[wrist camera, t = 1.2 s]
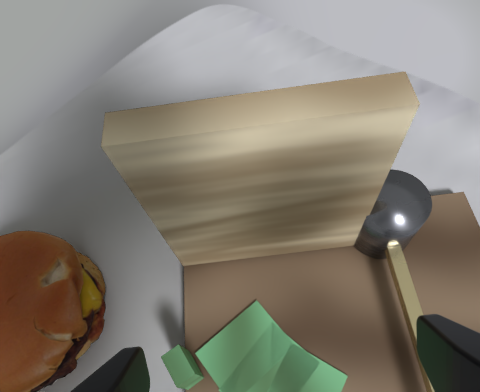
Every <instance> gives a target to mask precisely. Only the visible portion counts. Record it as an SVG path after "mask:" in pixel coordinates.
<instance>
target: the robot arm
mask: <svg viewBox="0 0 480 392" xmlns="http://www.w3.org/2000/svg"><path fill="white" fill-rule="evenodd" d="M416 333H417V353H418V356H419V359H420V361H421V364H422V366H423V368H424V370H425V372H426V374H427V376H428V379H429V381H430V383H431V385H432V387H433V389H434V391H435V392H480V333H479V332H476V331H474V330H472V329H470V328H468V327H465V326H463V325H461V324H459V323H456V322H454V321H452V320H450V319H448V318H445V317H443V316H441V315H439V314H429V315H420V316H419V317H418V318H417V321H416ZM149 389H150V377H149V372H148V368H147V364H146V359H145V355H144V351H143V349H142V348H141V347H131V348H124V349H122V350H121V351H120V352H118V353H117V354H116V355H115V356H113V357H112V358H111V359H110V360H109V361H107V362H106V363H105V364H104V365H102V366H101V367H100V368H99V369H98V370H96V371H95V372H94V373H93V374H92V375H90V376H89V377H88V378H87V379H85V380H84V381H83V382H82V383H81V384H79V385H78V386H77V387H76V388H74V389H73V390H72V391H71V392H149Z"/></svg>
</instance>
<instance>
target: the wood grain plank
mask: <svg viewBox="0 0 480 392" xmlns="http://www.w3.org/2000/svg"><path fill="white" fill-rule="evenodd" d="M419 105H420V103H419V101H418V99H417V96H416V94H415V92H414V90H413V87H412V85H411V83H410V81H409V78H408V76H407V74H406V72H398V73H391V74H384V75H377V76H369V77H362V78H355V79H347V80H340V81H333V82H326V83H318V84H311V85H304V86H296V87H289V88H282V89H275V90H267V91H260V92H253V93H245V94H238V95H231V96H224V97H216V98H209V99H202V100H194V101H187V102H180V103H173V104H165V105H158V106H151V107H143V108H136V109H129V110H122V111H114V112H107V113H105V117H104V126H103V134H102V142H101V147H102V149H103V150H104V152H105V153H106V155H107V156H108V158H109V159H110V160H111V162H112V163H113V165H114V166H115V168H116V169H117V171H118V172H119V174H120V175H121V176H122V178H123V179H124V181H125V182H126V184H127V185H128V187H129V188H130V190H131V191H132V192H133V194H134V195H135V197H136V198H137V200H138V201H139V203H140V204H141V206H142V207H143V208H144V210H145V211H146V213H147V214H148V216H149V217H150V219H151V220H152V222H153V223H154V224H155V226H156V227H157V229H158V230H159V232H160V233H161V235H162V236H163V238H164V239H165V240H166V242H167V243H168V245H169V246H170V248H171V249H172V251H173V252H174V254H175V255H176V256H177V258H178V259H179V261H180V262H181V264H182V265H183V266H187V265H196V264H204V263H212V262H221V261H229V260H237V259H246V258H254V257H262V256H271V255H279V254H287V253H296V252H304V251H312V250H321V249H329V248H337V247H346V246H354V247H355V248H356V249H357V250H358V251H360V252H361V253H363V254H364V255H366V256H369V257H372V258H376V259H387V262H388V265H389V268H390V272H391V275H392V278H393V282H394V285H395V288H396V291H397V295H398V298H399V301H400V305H401V308H402V311H403V315H404V318H405V321H406V325H407V328H408V331H409V334H410V338H411V341H412V344H413V348H414V351H415V354H416V358H417V361H418V364H419V368H420V371H421V374H422V377H423V381H424V384H425V387H426V391H427V392H435V391H434V389H433V387H432V385H431V383H430V381H429V379H428V376H427V374H426V372H425V370H424V368H423V366H422V364H421V361H420V359H419V356H418V353H417V333H416V321H417V318H418V317H419V316H420V315H423V312H422V309H421V306H420V303H419V300H418V297H417V294H416V291H415V288H414V285H413V282H412V279H411V276H410V273H409V270H408V266H407V263H406V260H405V257H404V254H403V250H404V249H405V247H406V246H407V245H408V244H409V242H410V241H411V240H412V238H413V237H414V236H415V234H416V233H417V232H418V231H419V229H420V228H421V227H422V225H423V224H424V223H425V221H426V220H427V219H428V217H429V216H430V213H431V210H432V199H431V195H430V193H429V191H428V189H427V188H426V186H425V185H424V184H423V183H422V182H421V181H420V180H419V179H417V178H416V177H414V176H413V175H411V174H408V173H406V172H403V171H399V170H390V169H391V167H392V164H393V162H394V160H395V158H396V156H397V153H398V151H399V149H400V147H401V145H402V142H403V140H404V138H405V136H406V133H407V131H408V129H409V127H410V125H411V122H412V120H413V118H414V116H415V114H416V111H417V109H418V107H419Z"/></svg>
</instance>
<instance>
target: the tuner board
mask: <svg viewBox="0 0 480 392" xmlns="http://www.w3.org/2000/svg"><path fill="white" fill-rule="evenodd" d="M431 199H432V210H431V213H430V216H429V217H428V219H427V220H426V221H425V223H424V224H423V225H422V227H421V228H420V229H419V231H418V232H417V233H416V234H415V236H414V237H413V238H412V240H411V241H410V242H409V244H408V245H407V246H406V247H405V249H404V250H403V254H404V257H405V260H406V263H407V266H408V270H409V273H410V276H411V279H412V282H413V285H414V288H415V291H416V294H417V297H418V300H419V303H420V306H421V309H422V312H423V315H429V314H439V315H441V316H443V317H445V318H448V319H450V320H452V321H454V322H456V323H459V324H461V325H463V326H465V327H468V328H470V329H472V330H474V331H476V332H479V333H480V227H479V225H478V222H477V220H476V218H475V216H474V214H473V211H472V209H471V207H470V205H469V203H468V200H467V198H466V196H465V194H464V192H459V193H451V194H443V195H435V196H431ZM184 311H185V348H184V347H182V346H180V345H179V344H178V345H177V346H176V347H174V348H173V349H171V350H170V351H168V352H167V353H166V354H164V355H163V356H161V358H162V360H163V362H164V364H165V366H166V368H167V370H168V371H169V373H170V375H171V377H172V379H173V381H174V383H175V385H176V387H177V388H182V389H186V392H427V391H426V387H425V384H424V381H423V377H422V374H421V371H420V368H419V364H418V361H417V358H416V354H415V351H414V348H413V344H412V341H411V338H410V334H409V331H408V328H407V325H406V321H405V318H404V315H403V311H402V308H401V305H400V301H399V298H398V295H397V291H396V288H395V285H394V282H393V278H392V275H391V272H390V268H389V265H388V262H387V259H376V258H372V257H369V256H366V255H364V254H363V253H361V252H360V251H358V250H357V249H356V248H355V247H354V246H346V247H337V248H329V249H321V250H312V251H304V252H296V253H287V254H279V255H271V256H262V257H254V258H246V259H237V260H229V261H221V262H212V263H204V264H196V265H187V266H184Z"/></svg>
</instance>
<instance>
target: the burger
mask: <svg viewBox="0 0 480 392" xmlns="http://www.w3.org/2000/svg"><path fill="white" fill-rule="evenodd" d="M104 294H105V283H104V280H103V276H102V274H101V272H100V271H99V269H98V267H97V266H96V265H95V264H94V263H93V262H92V261H91V260H90V259H89V258H88V257H87V256H83V255H82V254H81V253H78V252H76V250H75V249H74V248H73V246H72V245H70V244H69V243H68V242H66V241H65V240H63V239H61V238H59V237H56V236H53V235H50V234H47V233H43V232H35V231H17V232H13V233H10V234H6V235H2V236H0V392H37V391H39V390H41V389H42V388H44V387H46V386H47V385H52V384H53V383H54V381H55V380H57V379H59V378H62V377H65V376H66V375H67V374H69V373H71V372H72V371H73V370H74V369H75V368H76V366H77V359H78V358H80V357H81V356H82V355H83V354H84V353H85V352H86V351H87V350H88V349H89V347H90V345H91V342H92V343H93V342H94V341H96V340H97V339H98V338H99V336H100V334H101V332H102V330H103V327H104V321H105V320H104V319H103V316H104V313H105V302H104V300H103V296H104Z"/></svg>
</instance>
